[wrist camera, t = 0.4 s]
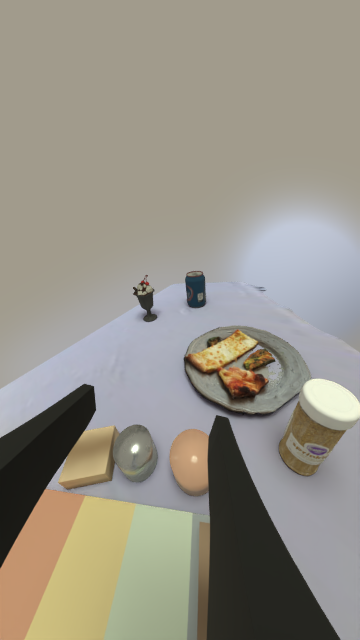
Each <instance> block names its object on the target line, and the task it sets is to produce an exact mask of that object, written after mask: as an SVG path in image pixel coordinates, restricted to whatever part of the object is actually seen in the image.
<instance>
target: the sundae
mask: <svg viewBox="0 0 360 640" xmlns="http://www.w3.org/2000/svg"><path fill="white" fill-rule="evenodd" d="M146 276H148V275H146ZM144 279H145V278H144ZM133 289H134V290H135V292H134V295H136V296H137V297H138V300H139V302H140V305H141V307H142V308H143V309H145V310H147V315H146V316H145V317H144V318H143V320H144V321H147V322H150V321H153V320H155V319H156V318H157V315H155V314H151V311H150V309H151V308H152V306H153V292H154V289H153V288H152V287H151V286H150V285H149V283H148V282H146V283H145V282H144V280H143V281H141V283H140V284H139V285H138V286H137V289H136V288H135V287H133Z"/></svg>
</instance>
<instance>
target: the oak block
mask: <svg viewBox="0 0 360 640" xmlns="http://www.w3.org/2000/svg"><path fill="white" fill-rule="evenodd" d="M118 436H119V432H118V431H117V429H116V427H115V426H109V427H104V428H98V429H93V430H88V431H84V432H83V434H82V435H81V437H80V438H79V440H78V441H77V443H76V444H75V445H74V447H73V448H72V450H71V451H70V453H69V454H68V457H67V459H66V462H65V465H64V468H63V470H62V473H61V476H60V479H59V481H58V483H59V484H61V485H62V486H63V487H65V488H66V489H67V490H68V489H73V488H78V487H83V486H88V485H93V484H98V483H103V482H108V481H112V476H113V470H114V464H115V461H114V458H113V447H114V443H115V441H116V439H117V437H118Z"/></svg>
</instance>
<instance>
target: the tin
mask: <svg viewBox="0 0 360 640" xmlns="http://www.w3.org/2000/svg"><path fill="white" fill-rule="evenodd" d="M113 458H114V461H115V462H116V464H117V465H118V467H119V468H120V469H121V470H122V472H123V473H124V474H125V476H126V477H127V478H128V479H129V480H130V481H132V482H135V483H138V482H142V481H144V480H146V479H147V478H148V477H149V476H150V475H151V474H152V473H153V471H154V469H155V467H156V464H157V459H158V455H157V450H156V448H155V445H154V443H153V440H152V438H151V435H150V433H149V431H148V430H147V428H145V427H144V426H142V425H132V426H129V427H127V428H126V429H124V430H123V431H122V432H121V433H120V434H119V436H118V437H117V439H116V441H115V443H114V447H113Z"/></svg>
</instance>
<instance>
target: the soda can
mask: <svg viewBox="0 0 360 640" xmlns="http://www.w3.org/2000/svg"><path fill="white" fill-rule="evenodd" d="M185 282H186V292H187V302H188V304H189V305H190V306H191V307H193V308H199V307H202V306H203V305H204V304H205V302H206V292H205V277H204V275H203V272H201V271H192V272H189V273H187V276H186V279H185Z"/></svg>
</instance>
